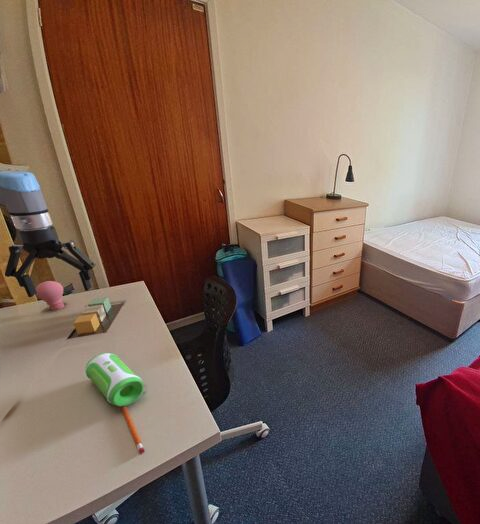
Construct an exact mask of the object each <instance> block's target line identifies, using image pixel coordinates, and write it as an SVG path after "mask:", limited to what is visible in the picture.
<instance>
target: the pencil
mask: <svg viewBox="0 0 480 524" xmlns="http://www.w3.org/2000/svg"><path fill="white" fill-rule="evenodd" d="M119 408H120V410H121V412H122V414H123V415H122V416H123V417H124V420H125V422H126V424H127V426H128V429H129V431H130V433H131V436H132V439H133V441H134V443H135V446H136V448H137V451H138V453H139V454H143V453H144V452H145V448H144V446H143V443H142V441H141V439H140V437H139V434H138V432H137V430H136V428H135V425H134V423H133V421H132V419H131V418H132V417H131V416H130V413H129V411H128V409H127V407H126V406H119Z"/></svg>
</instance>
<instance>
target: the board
mask: <svg viewBox="0 0 480 524" xmlns="http://www.w3.org/2000/svg"><path fill="white" fill-rule="evenodd" d="M124 304H125V303H124V302H123V303H116V304H110V305H111V308H110V309H109V311H108V312H107V313H106V316H105V318H104V319H103V321H102V322H99V323H100V325H99V326H98V328H97V329H96V331H95V332H90V333H84V334H78V333H77V331H76V328H75V327H74V328H73V330H72V331H71V333H70V334H69V335H68V336H67V337H66V340H71V339H76V338H77V339H78V338H84V337H88V336H89V337H90V336H95V335H100V334H101V335H102V334H107V333H108V331H109V329H110V327H111V326H112V324H113V323H114V321H115V320H116V318H117V316H118V314H119V313H120V312H121V310H122V308H123V307H124Z"/></svg>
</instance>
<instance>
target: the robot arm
mask: <svg viewBox="0 0 480 524" xmlns="http://www.w3.org/2000/svg"><path fill="white" fill-rule="evenodd" d="M0 207H5V208H6V210H7V211H8V214H9V216H10V218H11V220H12V224H13V226H14V227H15V229H17V235H18V237H19V240H20V242H21V243H22V244H20V243H19V244H18V243H14V244H12V245H10V246H8V251H9V256H8V260H7V264H6V267H5V272H4V276H5V277H7V278H8V277H13V278H15V279H16V281H17V282H18V285H19V287H20V288H24V290H25V292H26V294H27V296H28V298H32V297H34V296H36V293H37V292H36V286H35V285H34V282H33V280H32V278H31V276H30V274H29V273H26V272H27V271H28V270H29V268H30V267H32V265H33V264H34V262H35V260H36V259H38V260H44V259H53V258H56V259H57V260H61V261H63V262H65V263H66V264H68V265H69V266H72V267H73V268H75V269H77V270H79V272H78V275H79V277H80V281H81V283H82V285H83V288H84V291H85V292H88V291H89V290H90V289H91V288H92V285H91V281H90V280H91V279H92V275H91V270H92V269H94V267H95V266H96V263H95V262H94V261H93V260H91V259H90V258H89V257H88V256H87V254H85V253H84V252H83V251H82V250H81V249H79V248H78V247H77V244H76V242H75V241H74V240H68V241H65V242H61V241H60V239H59V235H58V233H57V230H56V227H55V226H54V221H53V219H52V217H51V215H50V211H49V209H48V206H47V203H46V199H45V197H44V195H43V192H42V188H41V186H40V184H39V182H38V180H37V178H36V176H35V174H34V173H32V172H30V171H24V170H23V171H22V170H21V171H17V170H10V171H9V170H8V171H0ZM63 248H64V249H65V250H67V251H68V252H69V253H70V254H69V253H68V252H67V251H65V250H64V249H63ZM23 251H24V252H26V253H28V255H27V256H26V258H25V260H24V261H23V262H22V263H21V265H20V266H19V268H18V265H19V261H20V259H21V258H20V257H21V254H22V252H23ZM17 269H18V270H17Z"/></svg>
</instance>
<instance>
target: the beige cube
mask: <svg viewBox="0 0 480 524" xmlns="http://www.w3.org/2000/svg"><path fill="white" fill-rule="evenodd" d="M89 314H96V315H97V318H98V320H99V322H102V321H103V319H104V318H105V316H106V313H105V311H104V308H103V305H97V306H90V307H89V306H86V307H85V308H84V310H83V311H82V312H81V316H82V315H89Z"/></svg>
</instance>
